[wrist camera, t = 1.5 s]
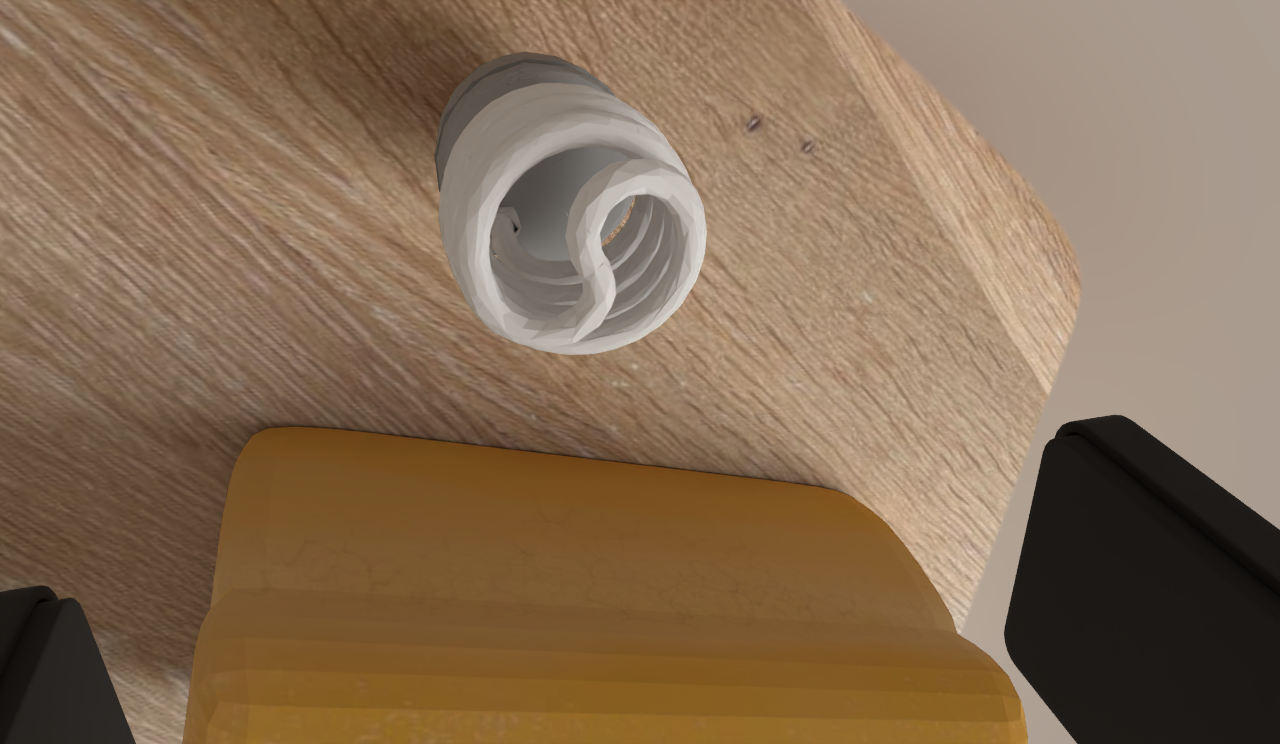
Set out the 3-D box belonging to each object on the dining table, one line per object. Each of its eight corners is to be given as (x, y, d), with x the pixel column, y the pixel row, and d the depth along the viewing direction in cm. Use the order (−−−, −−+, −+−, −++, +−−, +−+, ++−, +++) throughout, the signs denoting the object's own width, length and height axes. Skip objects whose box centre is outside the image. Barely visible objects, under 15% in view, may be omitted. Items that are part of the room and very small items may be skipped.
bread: (205, 696, 36) (115, 1155, 24) (244, 409, 31) (155, 799, 18) (767, 710, 45) (925, 1055, 32) (872, 485, 40) (1109, 790, 27)
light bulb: (487, -17, 27) (557, 67, 17) (642, 94, 29) (785, 225, 19) (386, 150, 28) (394, 320, 18) (542, 241, 31) (626, 436, 21)
